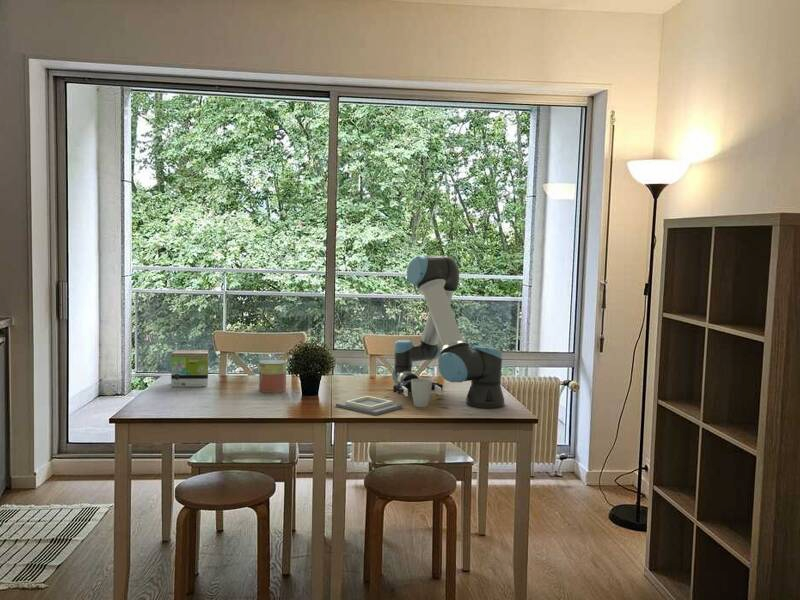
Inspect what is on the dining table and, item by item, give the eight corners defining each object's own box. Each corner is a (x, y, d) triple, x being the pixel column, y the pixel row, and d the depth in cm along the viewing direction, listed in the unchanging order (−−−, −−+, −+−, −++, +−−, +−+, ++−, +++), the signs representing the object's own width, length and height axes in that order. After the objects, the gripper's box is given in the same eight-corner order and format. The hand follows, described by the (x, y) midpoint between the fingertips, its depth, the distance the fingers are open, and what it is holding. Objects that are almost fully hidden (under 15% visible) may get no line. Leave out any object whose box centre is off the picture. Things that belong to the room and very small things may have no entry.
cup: (431, 403, 294) (432, 379, 293) (430, 408, 286) (431, 383, 285) (411, 403, 295) (412, 378, 294) (409, 407, 287) (410, 382, 286)
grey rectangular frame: (402, 407, 286) (402, 401, 286) (375, 415, 273) (375, 408, 273) (363, 399, 298) (363, 393, 298) (335, 406, 285) (335, 400, 285)
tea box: (171, 387, 312) (170, 353, 310) (172, 383, 322) (172, 349, 320) (208, 387, 315) (208, 352, 314) (208, 382, 325) (208, 348, 324)
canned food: (258, 387, 317) (258, 359, 316) (285, 386, 320) (285, 359, 319) (259, 392, 306) (259, 364, 305) (286, 392, 309) (287, 363, 308)
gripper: (437, 389, 311) (454, 400, 290) (379, 391, 304) (392, 403, 284) (437, 371, 310) (454, 381, 290) (379, 373, 303) (392, 383, 283)
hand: (423, 392), depth 287 cm, fingers open, 13 cm apart
